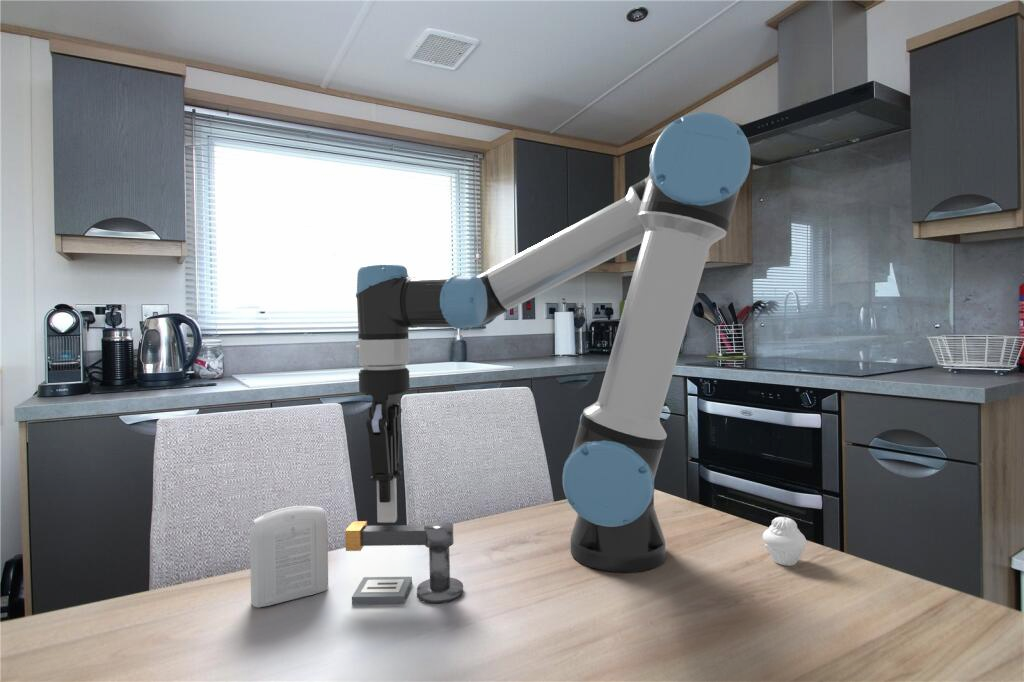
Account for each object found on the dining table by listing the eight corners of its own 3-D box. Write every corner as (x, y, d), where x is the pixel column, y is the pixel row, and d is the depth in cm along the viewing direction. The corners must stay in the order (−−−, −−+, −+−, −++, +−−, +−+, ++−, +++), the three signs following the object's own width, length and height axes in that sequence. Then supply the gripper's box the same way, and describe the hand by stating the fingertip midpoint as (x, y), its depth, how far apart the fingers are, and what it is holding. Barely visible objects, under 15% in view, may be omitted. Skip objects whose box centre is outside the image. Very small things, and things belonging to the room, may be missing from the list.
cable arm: (455, 539, 82) (454, 519, 82) (451, 550, 78) (451, 529, 78) (353, 540, 82) (353, 520, 82) (345, 551, 78) (344, 531, 78)
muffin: (793, 552, 92) (793, 509, 91) (815, 569, 85) (815, 523, 85) (755, 554, 91) (755, 510, 91) (774, 570, 85) (774, 524, 85)
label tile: (412, 583, 83) (411, 575, 83) (403, 603, 77) (403, 595, 77) (363, 583, 83) (363, 576, 83) (351, 604, 77) (351, 595, 77)
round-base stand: (465, 582, 83) (464, 537, 83) (460, 603, 77) (459, 555, 77) (421, 582, 83) (420, 537, 83) (413, 604, 77) (412, 555, 77)
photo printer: (324, 580, 85) (322, 497, 84) (332, 591, 81) (330, 505, 81) (248, 599, 79) (245, 511, 79) (254, 612, 75) (251, 519, 75)
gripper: (370, 364, 94) (373, 507, 94) (346, 371, 81) (350, 536, 81) (416, 363, 94) (419, 506, 94) (399, 370, 81) (403, 536, 81)
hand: (387, 520), depth 88 cm, fingers closed
